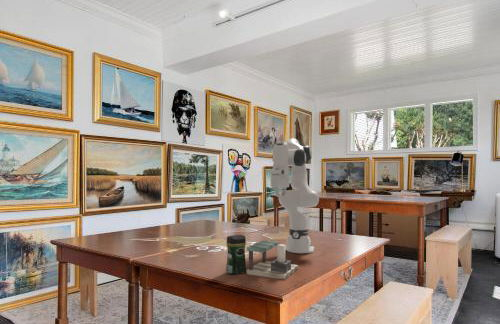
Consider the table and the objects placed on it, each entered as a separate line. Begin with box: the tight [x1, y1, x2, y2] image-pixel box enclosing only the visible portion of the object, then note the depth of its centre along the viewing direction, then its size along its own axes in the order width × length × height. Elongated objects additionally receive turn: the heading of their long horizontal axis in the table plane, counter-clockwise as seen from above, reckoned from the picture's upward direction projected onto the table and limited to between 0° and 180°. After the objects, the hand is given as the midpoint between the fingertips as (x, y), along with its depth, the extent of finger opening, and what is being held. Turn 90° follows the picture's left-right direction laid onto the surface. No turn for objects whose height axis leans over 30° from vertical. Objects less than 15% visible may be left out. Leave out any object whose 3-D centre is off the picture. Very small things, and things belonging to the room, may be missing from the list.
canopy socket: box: [246, 240, 299, 281], centre depth 173 cm, size 20×20×13 cm
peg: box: [276, 243, 286, 263], centre depth 169 cm, size 4×4×12 cm
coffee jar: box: [225, 234, 247, 275], centre depth 171 cm, size 10×8×19 cm
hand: (280, 196), depth 189 cm, fingers open, 8 cm apart
